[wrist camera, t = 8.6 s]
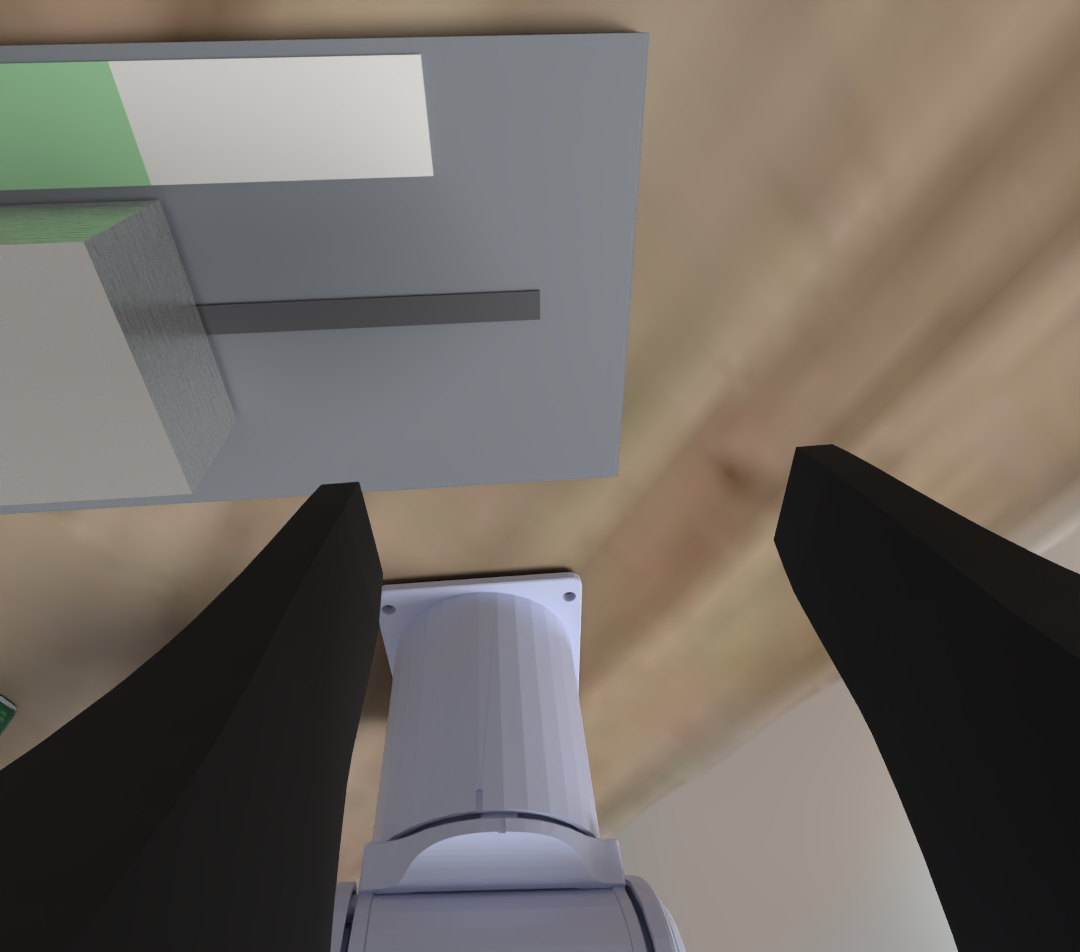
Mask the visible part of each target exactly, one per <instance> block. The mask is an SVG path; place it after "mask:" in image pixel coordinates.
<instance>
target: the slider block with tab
mask: <svg viewBox="0 0 1080 952" xmlns="http://www.w3.org/2000/svg"><path fill="white" fill-rule="evenodd" d="M236 421H237V420H236V417H235V414H234V412H233V409H232V406H231V403H230V400H229V397H228V394H227V392H226V389H225V386H224V383H223V380H222V377H221V374H220V371H219V369H218V366H217V363H216V360H215V357H214V354H213V351H212V349H211V346H210V343H209V340H208V337H207V334H206V331H205V328H204V326H203V323H202V320H201V317H200V314H199V311H198V308H197V306H196V303H195V300H194V297H193V294H192V291H191V288H190V286H189V283H188V280H187V277H186V274H185V271H184V268H183V265H182V263H181V260H180V257H179V254H178V251H177V248H176V245H175V243H174V240H173V237H172V234H171V231H170V228H169V225H168V222H167V220H166V217H165V214H164V211H163V208H162V205H161V202H160V200H141V201H112V202H83V203H54V204H25V205H0V506H3V505H19V504H36V503H52V502H69V501H85V500H102V499H118V498H135V497H151V496H168V495H184V494H193V492H194V491H195V489H196V487H197V486H198V484H199V482H200V481H201V479H202V477H203V476H204V474H205V472H206V471H207V469H208V467H209V466H210V464H211V462H212V461H213V459H214V458H215V456H216V454H217V453H218V451H219V449H220V448H221V446H222V444H223V443H224V441H225V439H226V438H227V436H228V434H229V433H230V431H231V429H232V428H233V426H234V424H235V423H236Z"/></svg>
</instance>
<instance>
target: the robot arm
mask: <svg viewBox="0 0 1080 952" xmlns="http://www.w3.org/2000/svg"><path fill="white" fill-rule="evenodd" d="M774 542H775V545H776V547H777V550H778V553H779V556H780V558H781V561H782V564H783V566H784V569H785V571H786V574H787V576H788V579H789V581H790V584H791V586H792V589H793V591H794V593H795V595H796V597H797V599H798V600H799V602H800V604H801V606H802V608H803V610H804V611H805V613H806V615H807V617H808V619H809V620H810V622H811V624H812V626H813V628H814V629H815V631H816V633H817V635H818V637H819V638H820V640H821V642H822V644H823V645H824V647H825V649H826V651H827V652H828V654H829V656H830V658H831V659H832V661H833V663H834V665H835V667H836V668H837V670H838V672H839V674H840V675H841V677H842V679H843V681H844V682H845V684H846V686H847V688H848V689H849V691H850V693H851V695H852V697H853V698H854V700H855V702H856V704H857V705H858V707H859V709H860V711H861V713H862V715H863V717H864V719H865V721H866V723H867V725H868V727H869V729H870V731H871V733H872V735H873V737H874V739H875V742H876V744H877V746H878V748H879V751H880V753H881V755H882V758H883V759H884V762H885V764H886V767H887V769H888V771H889V774H890V776H891V778H892V780H893V783H894V785H895V787H896V790H897V792H898V794H899V797H900V799H901V802H902V804H903V807H904V809H905V812H906V814H907V817H908V819H909V821H910V824H911V826H912V829H913V831H914V834H915V836H916V839H917V841H918V844H919V846H920V848H921V851H922V853H923V856H924V859H925V861H926V864H927V867H928V869H929V872H930V875H931V878H932V880H933V883H934V886H935V888H936V891H937V894H938V896H939V899H940V902H941V905H942V907H943V910H944V913H945V915H946V918H947V920H948V924H949V926H950V929H951V932H952V934H953V937H954V940H955V943H956V946H957V949H958V952H1080V574H1078V573H1076V572H1073V571H1071V570H1069V569H1066V568H1064V567H1062V566H1059V565H1058V564H1055V563H1053V562H1051V561H1049V560H1047V559H1045V558H1043V557H1041V556H1039V555H1037V554H1034V553H1032V552H1030V551H1028V550H1026V549H1024V548H1023V547H1021V546H1019V545H1017V544H1015V543H1013V542H1011V541H1009V540H1007V539H1005V538H1003V537H1001V536H999V535H997V534H995V533H993V532H991V531H989V530H987V529H985V528H983V527H981V526H980V525H978V524H976V523H974V522H972V521H970V520H968V519H967V518H965V517H963V516H961V515H959V514H957V513H956V512H954V511H952V510H950V509H948V508H947V507H945V506H943V505H941V504H939V503H938V502H936V501H934V500H932V499H931V498H929V497H927V496H925V495H924V494H922V493H920V492H918V491H917V490H915V489H913V488H911V487H910V486H908V485H906V484H904V483H903V482H901V481H899V480H897V479H896V478H894V477H892V476H890V475H889V474H887V473H885V472H884V471H882V470H880V469H878V468H876V467H875V466H873V465H871V464H869V463H868V462H866V461H864V460H862V459H860V458H859V457H857V456H855V455H853V454H851V453H849V452H847V451H845V450H843V449H841V448H839V447H837V446H835V445H833V444H830V445H817V446H804V447H796V450H795V454H794V458H793V462H792V467H791V471H790V475H789V479H788V483H787V487H786V491H785V495H784V499H783V504H782V508H781V512H780V516H779V520H778V524H777V528H776V532H775V536H774ZM382 580H383V571H382V567H381V564H380V560H379V556H378V552H377V548H376V544H375V540H374V537H373V533H372V529H371V525H370V521H369V517H368V513H367V510H366V506H365V502H364V498H363V494H362V490H361V487H360V483H359V482H347V483H334V484H321V485H320V486H319V487H318V488H317V490H316V491H315V492H314V493H313V494H312V495H311V496H310V497H309V498H308V500H307V501H306V502H305V503H304V504H303V505H302V506H301V507H300V508H299V510H298V511H297V512H296V513H295V514H294V515H293V516H292V518H291V519H290V520H289V521H288V522H287V523H286V524H285V525H284V527H283V528H282V529H281V530H280V531H279V532H278V533H277V534H276V536H275V537H274V538H273V539H272V540H271V541H270V542H269V543H268V545H267V546H266V547H265V548H264V549H263V550H262V551H261V552H260V553H259V554H258V555H257V556H256V558H255V559H254V560H253V561H252V562H251V563H250V564H249V565H248V566H247V567H246V568H245V569H244V571H243V572H242V573H241V574H240V575H239V576H238V577H237V578H236V579H235V580H234V581H233V582H232V583H231V584H230V585H229V586H228V587H227V588H226V589H225V590H224V591H223V592H222V593H221V594H220V595H219V596H218V597H216V598H215V599H214V600H213V601H212V602H211V603H210V604H209V605H208V606H207V607H206V608H205V609H204V610H203V611H202V612H201V613H200V614H199V615H198V616H197V617H196V618H195V619H194V620H193V621H192V622H191V623H190V624H189V625H188V626H187V627H186V628H184V629H183V630H182V631H181V632H180V633H179V634H178V635H177V636H176V637H174V638H173V639H172V640H171V641H170V642H169V643H168V644H167V645H165V646H164V647H163V648H162V649H161V650H160V651H158V652H157V653H156V654H155V655H154V656H152V657H151V658H150V659H149V660H148V661H146V662H145V663H144V664H143V665H142V666H141V667H139V668H138V669H137V670H136V671H135V672H133V673H132V674H131V675H130V676H129V677H127V678H126V679H125V680H124V681H122V682H121V683H120V684H119V685H117V686H116V687H115V688H113V689H112V690H111V691H109V692H108V693H107V694H105V695H104V696H103V697H101V698H100V699H99V700H97V701H96V702H95V703H93V704H92V705H91V706H89V707H88V708H87V709H85V710H84V711H83V712H81V713H80V714H79V715H77V716H76V717H75V718H73V719H72V720H71V721H69V722H68V723H67V724H65V725H64V726H63V727H61V728H60V729H59V730H57V731H56V732H55V733H53V734H52V735H51V736H49V737H48V738H47V739H45V740H44V741H42V742H41V743H40V744H38V745H37V746H35V747H34V748H33V749H31V750H30V751H28V752H27V753H25V754H24V755H22V756H21V757H19V758H18V759H16V760H15V761H14V762H12V763H11V764H9V765H8V766H6V767H5V768H3V769H2V770H0V952H686V951H685V948H684V945H683V942H682V939H681V936H680V933H679V931H678V928H677V926H676V924H675V922H674V920H673V918H672V916H671V914H670V912H669V911H668V909H667V908H666V906H665V905H664V904H663V903H662V901H661V900H660V899H659V898H658V897H657V895H656V893H655V892H654V890H653V889H652V888H651V886H650V885H649V884H648V883H647V882H646V881H645V880H644V879H643V878H641V877H638V876H634V875H626V876H624V871H623V866H622V860H621V854H620V848H619V842H618V841H617V840H615V839H600V834H599V828H598V821H597V815H596V808H595V801H594V795H593V788H592V782H591V775H590V768H589V762H588V755H587V749H586V742H585V736H584V729H583V722H582V716H581V709H580V703H579V696H578V691H579V661H580V632H581V602H582V583H581V578H580V576H579V575H578V574H576V573H573V572H563V573H549V574H535V575H520V576H506V577H492V578H478V579H463V580H449V581H435V582H420V583H406V584H392V585H383V586H382ZM567 592H572V593H570V594H565V593H567ZM386 605H391V606H392V607H387V606H386ZM379 625H380V629H381V633H382V637H383V641H384V645H385V649H386V653H387V657H388V661H389V665H390V669H391V673H392V677H393V682H392V690H391V698H390V706H389V713H388V721H387V729H386V737H385V745H384V752H383V760H382V768H381V776H380V784H379V791H378V799H377V807H376V815H375V823H374V831H373V838H372V843H367V844H366V845H365V846H364V853H363V861H362V868H361V875H360V883H359V890H358V895H357V886H356V882H340V883H337V884H336V882H337V871H338V861H339V850H340V841H341V832H342V823H343V814H344V805H345V796H346V788H347V781H348V775H349V769H350V763H351V757H352V752H353V748H354V743H355V738H356V734H357V729H358V724H359V720H360V715H361V710H362V706H363V701H364V696H365V692H366V687H367V682H368V678H369V673H370V668H371V663H372V658H373V654H374V649H375V644H376V639H377V634H378V629H379Z"/></svg>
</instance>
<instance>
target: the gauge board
mask: <svg viewBox="0 0 1080 952" xmlns="http://www.w3.org/2000/svg"><path fill="white" fill-rule="evenodd" d="M648 43H649V33H645V32H628V33H579V34H530V35H481V36H432V37H383V38H334V39H285V40H236V41H187V42H138V43H89V44H40V45H0V205H25V204H54V203H83V202H112V201H141V200H160V202H161V205H162V208H163V211H164V214H165V217H166V220H167V222H168V225H169V228H170V231H171V234H172V237H173V240H174V243H175V245H176V248H177V251H178V254H179V257H180V260H181V263H182V265H183V268H184V271H185V274H186V277H187V280H188V283H189V286H190V288H191V291H192V294H193V297H194V300H195V303H196V306H197V308H198V311H199V314H200V317H201V320H202V323H203V326H204V328H205V331H206V334H207V337H208V340H209V343H210V346H211V349H212V351H213V354H214V357H215V360H216V363H217V366H218V369H219V371H220V374H221V377H222V380H223V383H224V386H225V389H226V392H227V394H228V397H229V400H230V403H231V406H232V409H233V412H234V414H235V417H236V420H237V421H236V423H235V424H234V426H233V428H232V429H231V431H230V433H229V434H228V436H227V438H226V439H225V441H224V443H223V444H222V446H221V448H220V449H219V451H218V453H217V454H216V456H215V458H214V459H213V461H212V462H211V464H210V466H209V467H208V469H207V471H206V472H205V474H204V476H203V477H202V479H201V481H200V482H199V484H198V486H197V487H196V489H195V491H194V492H193V494H184V495H168V496H151V497H135V498H118V499H102V500H85V501H69V502H52V503H36V504H19V505H3V506H0V514H16V513H33V512H49V511H65V510H81V509H98V508H114V507H130V506H147V505H163V504H179V503H195V502H212V501H228V500H244V499H260V498H277V497H293V496H309V495H312V494H313V493H314V492H315V491H316V490H317V488H318V487H319V486H320V485H321V484H334V483H347V482H359V483H360V487H361V490H362V492H374V491H391V490H407V489H423V488H439V487H456V486H472V485H488V484H504V483H521V482H537V481H553V480H569V479H586V478H602V477H618V466H619V452H620V438H621V424H622V410H623V396H624V382H625V368H626V354H627V339H628V325H629V311H630V297H631V283H632V269H633V255H634V241H635V227H636V213H637V198H638V184H639V170H640V156H641V142H642V128H643V114H644V100H645V86H646V71H647V57H648Z"/></svg>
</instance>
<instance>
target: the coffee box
mask: <svg viewBox="0 0 1080 952" xmlns="http://www.w3.org/2000/svg"><path fill="white" fill-rule="evenodd" d="M16 712H17V709H16V707H15V706H14V705H13V704H12V703H11V702H9V701H8V700H6V699H4V698H3V697H2V696H1V695H0V735H1V734H2V732H3V731H4V730H5V728H6V727H7V725H8V724H9V722H10V721H11V720H12V718H13V717H14V715H15V713H16Z"/></svg>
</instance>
